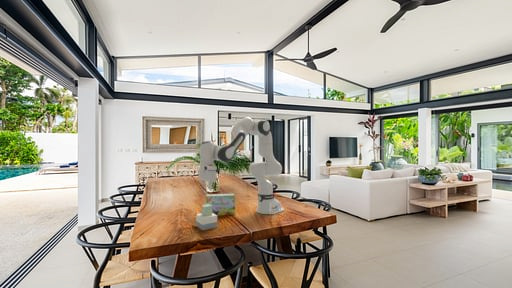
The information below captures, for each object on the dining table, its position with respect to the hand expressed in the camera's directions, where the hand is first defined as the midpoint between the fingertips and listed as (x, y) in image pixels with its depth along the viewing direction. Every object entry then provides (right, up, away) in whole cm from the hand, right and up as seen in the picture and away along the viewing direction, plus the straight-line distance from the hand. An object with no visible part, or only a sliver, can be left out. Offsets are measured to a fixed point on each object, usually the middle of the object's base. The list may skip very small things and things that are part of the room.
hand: (206, 187), depth 153 cm
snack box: (+5, -25, +26) cm, 36 cm away
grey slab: (0, -25, 0) cm, 25 cm away
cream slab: (0, -21, 0) cm, 21 cm away
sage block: (0, -17, 0) cm, 17 cm away
